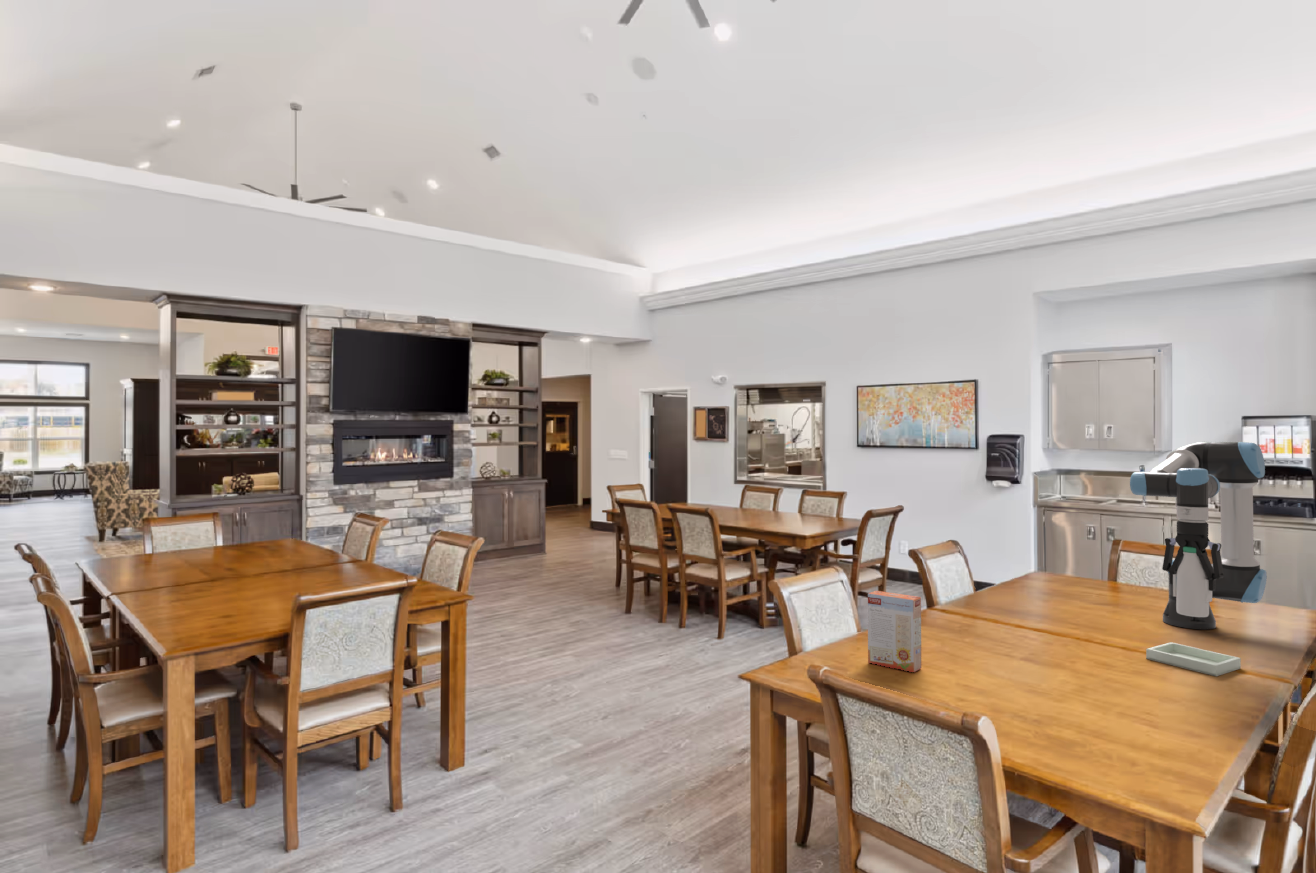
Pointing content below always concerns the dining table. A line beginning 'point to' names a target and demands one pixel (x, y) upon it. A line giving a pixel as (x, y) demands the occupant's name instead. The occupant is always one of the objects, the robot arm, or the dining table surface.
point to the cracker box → (894, 630)
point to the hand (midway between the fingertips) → (1192, 598)
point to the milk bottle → (1191, 586)
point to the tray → (1193, 658)
